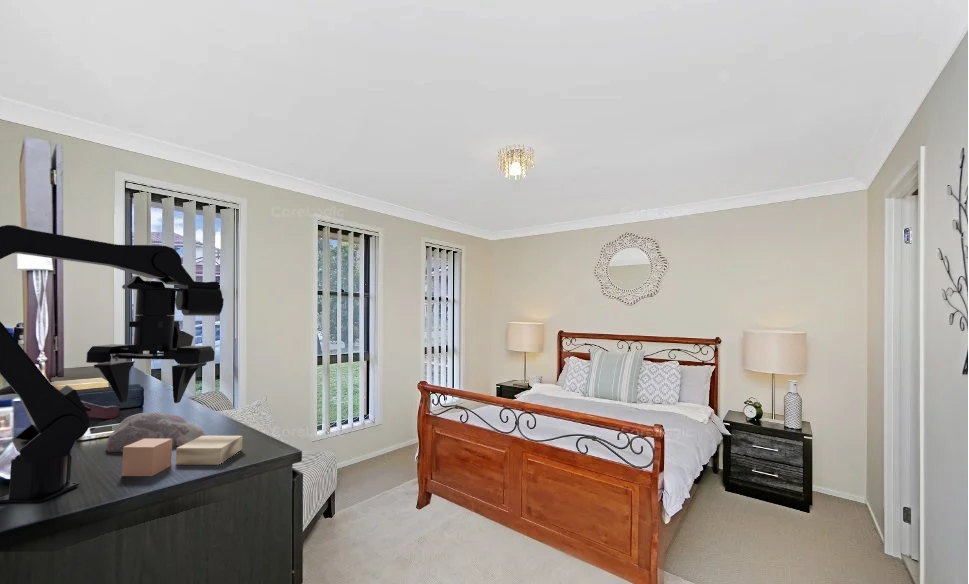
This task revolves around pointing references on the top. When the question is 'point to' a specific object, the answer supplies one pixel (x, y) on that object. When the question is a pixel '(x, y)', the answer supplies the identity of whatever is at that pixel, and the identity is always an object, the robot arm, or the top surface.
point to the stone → (153, 430)
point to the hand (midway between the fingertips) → (150, 402)
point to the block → (146, 457)
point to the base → (208, 450)
